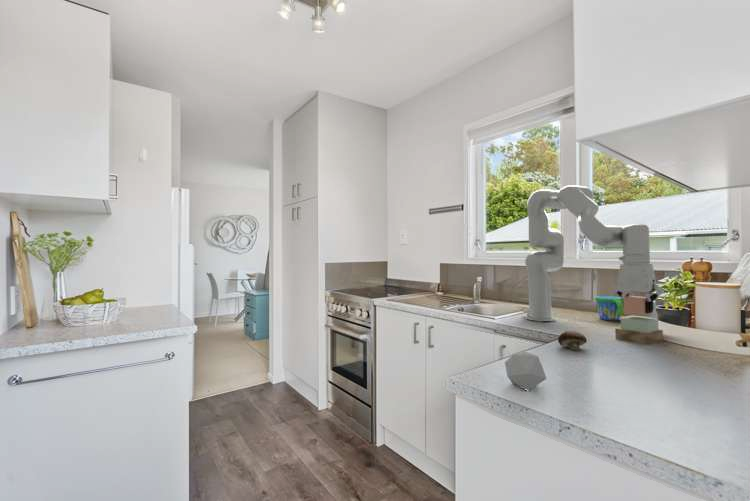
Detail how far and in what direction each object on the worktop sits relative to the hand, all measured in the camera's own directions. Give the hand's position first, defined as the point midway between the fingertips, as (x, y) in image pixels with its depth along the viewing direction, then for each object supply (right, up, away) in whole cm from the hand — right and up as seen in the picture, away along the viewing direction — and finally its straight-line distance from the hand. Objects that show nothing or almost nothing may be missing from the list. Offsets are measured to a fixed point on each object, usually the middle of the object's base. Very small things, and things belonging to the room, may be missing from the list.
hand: (637, 311), depth 122 cm
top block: (0, -6, 0) cm, 6 cm away
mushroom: (-29, -11, -10) cm, 32 cm away
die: (-57, -11, -41) cm, 71 cm away
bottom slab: (0, -10, 0) cm, 10 cm away
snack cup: (+15, -11, +37) cm, 42 cm away
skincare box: (+11, -10, +9) cm, 18 cm away
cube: (0, -1, 0) cm, 1 cm away
